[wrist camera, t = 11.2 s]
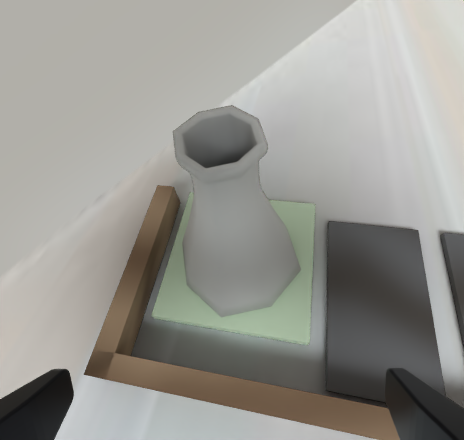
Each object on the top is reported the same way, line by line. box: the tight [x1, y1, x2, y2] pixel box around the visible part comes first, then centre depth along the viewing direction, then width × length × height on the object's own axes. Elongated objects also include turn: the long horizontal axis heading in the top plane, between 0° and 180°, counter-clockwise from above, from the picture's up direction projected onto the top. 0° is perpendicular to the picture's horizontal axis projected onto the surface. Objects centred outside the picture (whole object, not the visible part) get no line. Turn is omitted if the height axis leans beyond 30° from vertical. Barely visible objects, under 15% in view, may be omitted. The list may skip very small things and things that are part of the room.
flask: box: [173, 105, 301, 317], centre depth 14 cm, size 7×7×10 cm
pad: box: [151, 192, 315, 346], centre depth 19 cm, size 9×9×1 cm
